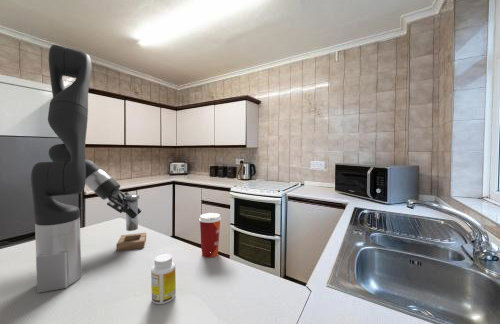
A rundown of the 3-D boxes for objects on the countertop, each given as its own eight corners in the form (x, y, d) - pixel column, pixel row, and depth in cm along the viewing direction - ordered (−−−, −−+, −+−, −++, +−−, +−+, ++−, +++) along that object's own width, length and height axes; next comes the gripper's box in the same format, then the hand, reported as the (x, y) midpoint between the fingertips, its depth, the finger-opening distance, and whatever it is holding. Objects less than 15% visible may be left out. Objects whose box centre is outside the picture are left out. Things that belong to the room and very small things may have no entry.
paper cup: (223, 257, 74) (223, 217, 74) (200, 261, 72) (200, 219, 71) (218, 247, 82) (218, 211, 81) (197, 251, 79) (197, 213, 78)
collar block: (144, 247, 81) (143, 240, 81) (116, 251, 78) (116, 244, 78) (146, 238, 90) (146, 232, 89) (121, 241, 86) (121, 235, 86)
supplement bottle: (177, 289, 57) (177, 252, 56) (172, 304, 51) (172, 262, 51) (155, 291, 56) (155, 252, 56) (147, 306, 50) (147, 263, 50)
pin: (138, 230, 82) (138, 197, 81) (123, 232, 80) (122, 197, 80) (140, 225, 87) (140, 194, 86) (125, 227, 85) (125, 195, 84)
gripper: (100, 180, 74) (138, 213, 77) (118, 175, 88) (150, 203, 91) (83, 195, 74) (122, 228, 76) (104, 187, 88) (136, 216, 90)
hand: (137, 214), depth 84 cm, fingers closed on pin, 4 cm apart
